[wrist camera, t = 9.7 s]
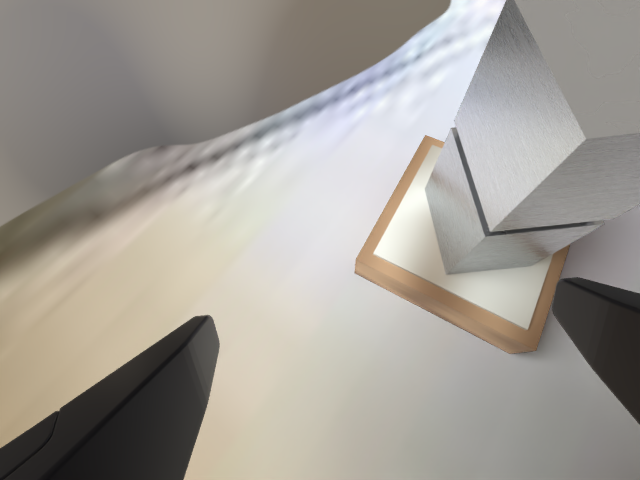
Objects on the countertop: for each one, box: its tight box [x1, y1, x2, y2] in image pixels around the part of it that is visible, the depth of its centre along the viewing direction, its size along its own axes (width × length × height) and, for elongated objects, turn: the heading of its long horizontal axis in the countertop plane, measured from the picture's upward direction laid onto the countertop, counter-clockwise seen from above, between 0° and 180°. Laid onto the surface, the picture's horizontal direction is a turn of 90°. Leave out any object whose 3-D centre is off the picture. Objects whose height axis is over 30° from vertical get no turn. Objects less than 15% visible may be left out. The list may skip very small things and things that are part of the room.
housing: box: [425, 0, 640, 275], centre depth 14 cm, size 6×5×12 cm
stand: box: [355, 135, 570, 354], centre depth 21 cm, size 11×11×3 cm
